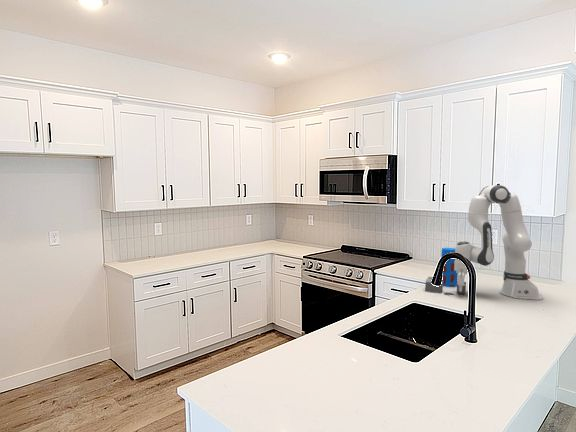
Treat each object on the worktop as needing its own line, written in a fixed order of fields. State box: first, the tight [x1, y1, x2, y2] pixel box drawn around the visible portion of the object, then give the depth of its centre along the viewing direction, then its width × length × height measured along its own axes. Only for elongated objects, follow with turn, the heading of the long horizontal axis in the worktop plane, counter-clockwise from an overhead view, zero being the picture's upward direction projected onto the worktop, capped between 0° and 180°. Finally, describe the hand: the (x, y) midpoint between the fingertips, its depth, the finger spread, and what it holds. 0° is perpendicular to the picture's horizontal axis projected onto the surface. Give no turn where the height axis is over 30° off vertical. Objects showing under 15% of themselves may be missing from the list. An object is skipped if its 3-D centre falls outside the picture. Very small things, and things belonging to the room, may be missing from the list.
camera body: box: [424, 276, 444, 294], centre depth 253 cm, size 10×9×8 cm
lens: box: [456, 280, 467, 296], centre depth 244 cm, size 5×5×8 cm
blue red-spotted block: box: [440, 247, 458, 288], centre depth 267 cm, size 11×11×25 cm
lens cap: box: [443, 291, 454, 296], centre depth 245 cm, size 6×6×1 cm
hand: (460, 289), depth 245 cm, fingers open, 8 cm apart
